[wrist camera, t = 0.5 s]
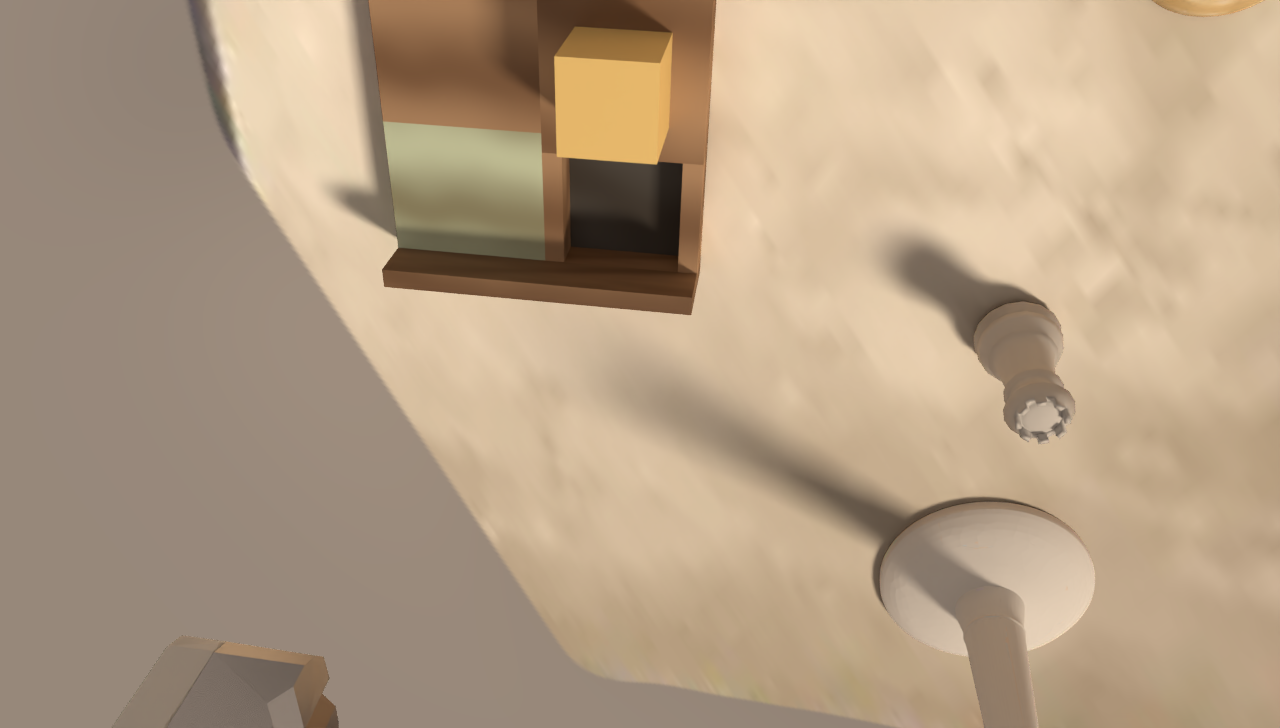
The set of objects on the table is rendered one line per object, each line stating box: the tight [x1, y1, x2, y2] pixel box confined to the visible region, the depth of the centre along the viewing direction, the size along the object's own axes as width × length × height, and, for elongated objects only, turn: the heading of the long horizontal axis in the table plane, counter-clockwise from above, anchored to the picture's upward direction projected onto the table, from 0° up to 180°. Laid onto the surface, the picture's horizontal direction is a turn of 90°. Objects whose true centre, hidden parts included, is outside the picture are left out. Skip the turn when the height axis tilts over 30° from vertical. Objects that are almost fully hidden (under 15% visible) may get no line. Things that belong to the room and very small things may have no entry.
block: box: [554, 27, 673, 165], centre depth 46 cm, size 4×4×4 cm
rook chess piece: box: [973, 301, 1075, 444], centre depth 52 cm, size 4×4×8 cm
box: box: [368, 0, 716, 315], centre depth 48 cm, size 22×16×4 cm
